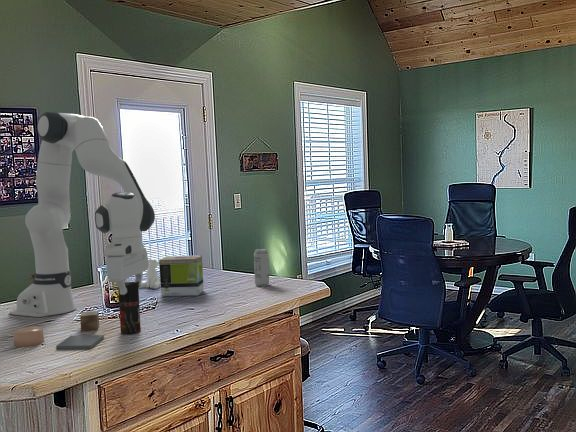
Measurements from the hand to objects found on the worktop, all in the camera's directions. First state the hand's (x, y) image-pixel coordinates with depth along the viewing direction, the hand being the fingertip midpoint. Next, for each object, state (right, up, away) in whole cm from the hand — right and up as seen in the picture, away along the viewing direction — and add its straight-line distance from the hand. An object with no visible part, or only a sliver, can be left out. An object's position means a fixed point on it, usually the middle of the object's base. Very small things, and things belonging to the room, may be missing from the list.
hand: (131, 290), depth 177 cm
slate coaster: (-12, -14, -10) cm, 21 cm away
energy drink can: (+37, -6, +65) cm, 75 cm away
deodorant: (0, -13, +1) cm, 13 cm away
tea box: (+6, -8, +54) cm, 55 cm away
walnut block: (-15, -13, +6) cm, 20 cm away
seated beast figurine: (-10, -7, +69) cm, 70 cm away
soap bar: (-28, -11, -8) cm, 31 cm away
